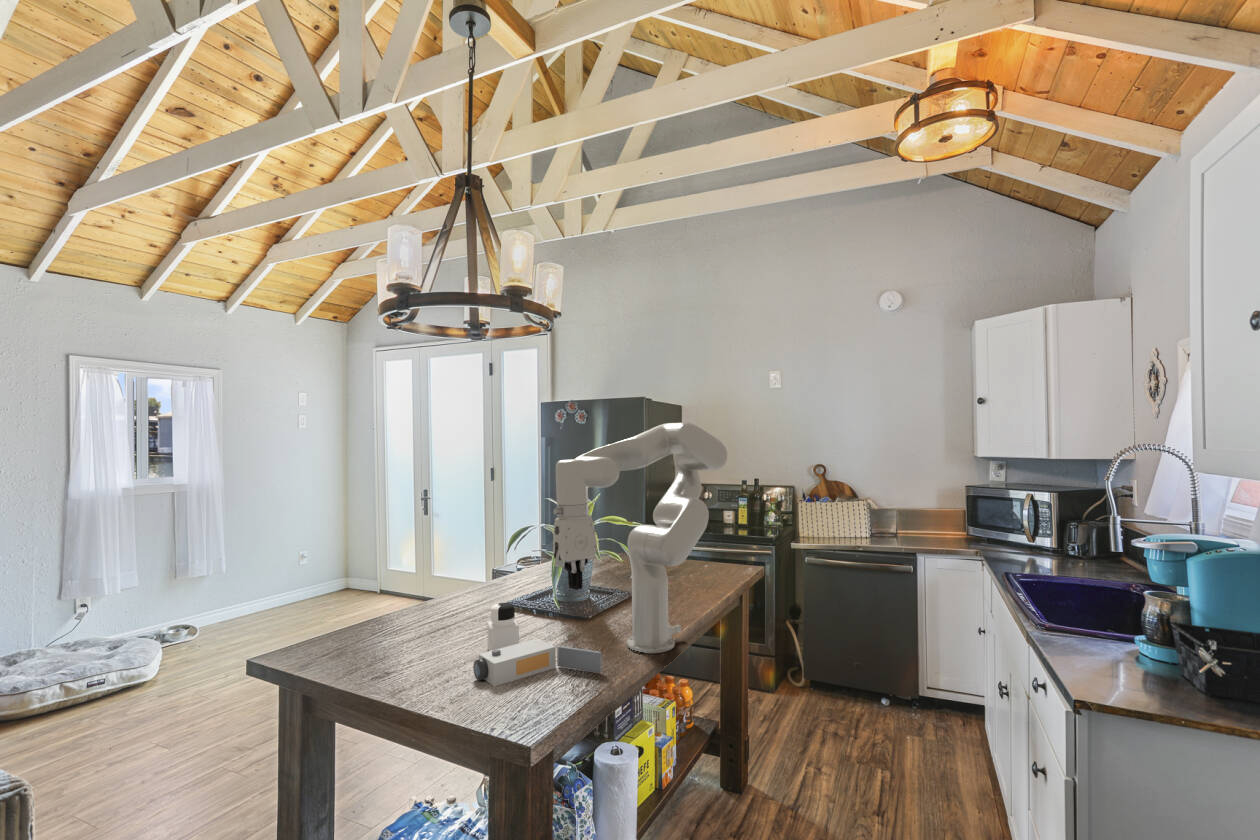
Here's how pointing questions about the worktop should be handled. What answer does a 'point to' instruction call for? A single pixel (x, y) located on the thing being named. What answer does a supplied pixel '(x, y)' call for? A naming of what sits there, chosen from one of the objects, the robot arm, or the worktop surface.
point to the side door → (579, 659)
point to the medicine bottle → (502, 627)
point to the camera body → (515, 662)
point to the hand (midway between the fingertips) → (575, 588)
